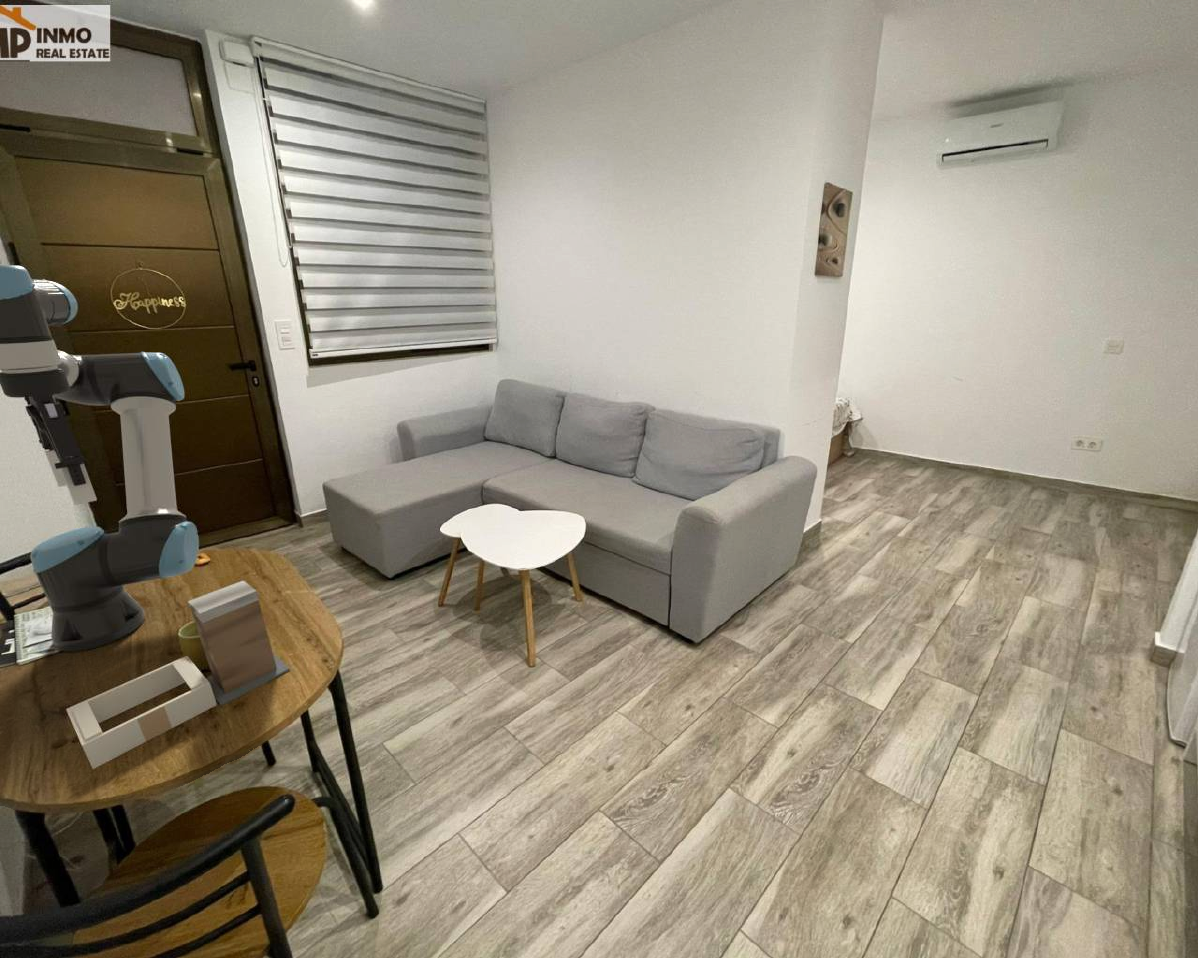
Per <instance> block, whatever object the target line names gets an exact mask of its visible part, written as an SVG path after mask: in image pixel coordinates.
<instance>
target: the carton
mask: <svg viewBox="0 0 1198 958" xmlns="http://www.w3.org/2000/svg"><path fill="white" fill-rule="evenodd" d="M206 678H207V677H205V676H204V674H203V673H202V672H201V671H199V669H198V668H197V667H196V666H195V665H194V663H193V662H192V661H191V660H190V659H189V657H188V656H185V657H184V656H183V657H180V658H177V659H176V660H173V661H172V662H170V663H168V664H165V665H163V666H161V667H159V668H156V669H154V670H152V671H150V672H147V673H144V674H143V675H140V676H139V677H136V678H134V679H131V680H128V681H127V682H124V683H123V684H120V685H118V686H116V687H113V688H111V689H109V690H106V691H104V692H102V693H100V694H98V695H95V696H93V697H91V698H88V699H86V700H84V701H81V702H79V703H77V704H74V705H72V706H70V707H68V708H66V709H65V710H66V712H67V714H68V717H69V719H70V721H71V723H72V726H73V728H74V730H75V732H76V735H77V738H78V740H79V743H80V744H81V747H82V748H83V751H84V753H85V755H86V757H87V760H88V762H89V764H90V766H91V769H92V770H94V769H96V768H98V767H100V766H102V765H104V764H106V763H107V762H109V761H111V760H114V759H115V758H117V757H119V756H121V755H123V754H125V753H127V752H129V751H131V750H133V749H134V748H137V747H139V746H140V745H142V744H145V743H146V742H148V741H151V740H152V739H155V738H156V737H158V736H160V735H162V734H163V733H166V732H167V731H169V730H171V729H174V728H176V727H177V726H179V725H181V724H182V723H185V722H187V721H189V720H190V719H193V718H194V717H197V716H198V715H200V714H202V713H205V712H206V711H208V710H211V708H214V707H216V706H218V704H217V703H218V702H217V700H216V699H215V697H214V694H213V691H212V688H211V685H210V683H209V682H208V680H207V679H206ZM183 684H186V685H187V686H188V687H189V689H190V690H189V691H187V692H184V693H183V694H180V695H178V696H177V697H174V698H172V699H170V700H168V701H166V702H164V703H162V704H159V705H157V706H156V707H154V708H151V709H150V710H147V711H146V712H143V713H141V714H139V715H138V716H135V717H133V718H131V719H129V720H127V721H124V722H122V723H120V724H119V725H117V726H115V727H112V728H110V729H108V730H106V731H105V732H103V731H102V728H101V726H100V725H99V724H100V723H102V722H105V721H106V720H108V719H111V718H113V717H116V716H117V715H119V714H121V713H123V712H125V711H128V710H130V709H132V708H134V707H136V706H138V705H140V704H142V703H144V702H148V701H149V700H151V699H153V698H155V697H157V696H160V695H162V694H164V693H167V692H168V691H171V690H173V689H175V688H176V687H178V686H179V687H180V686H181V685H183Z"/></svg>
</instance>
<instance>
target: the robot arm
mask: <svg viewBox="0 0 1198 958" xmlns="http://www.w3.org/2000/svg"><path fill="white" fill-rule="evenodd" d="M78 309H79V307H78V302H77V299H76V298H75V296H74V294H73V293H72V292H71V291H70V290H69V289H68V288H66V287H65V286H64V285H62V284H59V283H57V282H55V281H50V280H46V279H44V278H32V277H31V276H30V273H29V271H28V269H26V268H25V267H23V266H22V265H15V264H14V265H12V264H0V371H1V372H0V387H1V390H2V392H3V394H4V396H6V397H8V398H15V399H16V398H19V399H20V398H21V399H22V398H24V401H26V404H27V405H24V406H25V410H26V412H27V414H28V416H29V417H30V420H31V422H32V424H33V426H34V427H35V431H36V433H37V437H38V439H39V440H38V443H39V444H41V446H42V447H41V448H42V449H44V452H45V455H46V459H47V461H48V463H49V466H50V468H51V470H52V474H53V477H54V478H55V481H56V484H57V486H58V487H64V486H67V488H68V491H69V493H70V496H71V499H72V501H73V503H74V505H75V506H79V505H81V504H82V505H83V504H87V503H90V502H96V501H97V500H98V498H97V496H96V493H95V490H94V488H93V485H92V483H91V480H90V477H89V474H88V471H87V468H86V466H85V464H84V463H85V461H86V459H85V457H84V456H83V454H82V452H81V450H80V446H79V445H78V443H77V440H76V438H75V435H74V433H73V432H72V429H71V427H70V423H69V420H68V418H67V416H66V410H65V408H64V405H63V403H60V402H56V400H55V399H59V400H62V401H66V402H71V403H74V404H79V405H80V404H81V405H86V406H96V407H97V406H99V407H100V406H110V408H111V410H112V411H113V412H115V413H117V414H118V415H120V426H121V431H120V432H121V441H122V443H121V444H122V455H123V456H122V457H123V471H124V483H125V496H126V497H125V498H126V510H127V512H126V513H127V514H126V515H125V516H123V518H121V519H120V520H119V521H118V531H117V532H111V533H105V530H104V529H103V528H101V527H100V526H85V527H81V528H77V529H76V528H75V529H72V530H69V531H66V532H63V533H60V534H58V535H55V536H52V537H51V538H49V539H46V540H44V541H42V542H41V543H40V544H38V545H37V546H35V547H34V548H33V549H32V550H31V552H30V555H29V558H30V561H31V564H32V567H33V573H34V574H35V575H36V578H37V579H38V582H39V584H40V586H41V588H42V591H43V592H44V595H45V598H46V600H47V602H48V604H49V606H50V608H51V611H52V621H51V622H52V623H51V642H52V643H53V645H54V648H55V647H56V648H57V649H56V648H55V649H56V650H58V651H60V652H66V653H71V652H72V653H74V652H83V651H87V650H88V651H89V650H91V649H95V648H99V647H101V646H106V645H107V644H110V643H112V642H116V641H117V640H120V639H122V638H123V637H126V636H128V635H129V634H131V633H132V632H134V631H135V630H137V629H138V628H139V627H140V626H142V624H143V623H144V621H145V619H146V614H145V612H144V608H143V607H142V606H141V605H140V603H139V602H138V601H137V600H135V598H134V597H132V595H131V594H130V593H129V592H128V591H126V589H125V587H124V586H127V585H130V584H137V583H138V584H139V583H141V582H142V583H143V582H144V583H145V582H147V581H153V580H159V579H169V578H171V577H175V576H176V577H177V576H180V575H184V574H186V573H188V572H190V571H191V570H192V569H193V568H194V567H195V564H196V562H197V561H198V557H199V549H200V541H199V540H200V538H199V535H198V529H197V526H196V525H195V524H194V523H193V522H192V521H188V520H187V516H186V515H185V514H183V513H182V512H181V511H178V506H177V497H176V495H177V493H176V486H175V485H176V483H175V473H174V463H173V452H172V442H171V428H170V418H169V416H170V415H171V414H172V413H174V412H175V411H177V410H176V409H177V408H176V407H177V406H176V401H177V402H180V401H182V400H184V399H185V387H184V384H183V382H182V378H181V376H180V374H179V373H180V372H178V369H177V367H176V365H175V363H174V362H173V361H172V360H171V358H170V357H169V356H168V355H166V354H165V353H162V352H145V351H141V352H134V353H133V352H132V353H130V352H129V353H108V354H107V353H106V354H105V353H103V354H68V353H66V352H65V351H62V350H59V349H57V345H56V343H55V340H54V339H53V337H52V334H51V331H50V328H49V327H51V326H53V327H59V326H61V325H64V324H66V323H69V322H70V321H72V320H73V319H74V318H75V317H76V316H77V313H78Z"/></svg>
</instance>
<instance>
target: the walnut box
mask: <svg viewBox="0 0 1198 958" xmlns="http://www.w3.org/2000/svg"><path fill="white" fill-rule="evenodd" d="M259 600H260V599H259V596H258V591H257V590H256V589H255V588H253V587H252V586H251V585H250V584H248V583H247V582H246V581H245V580H241V581H238V582H235V583H232V584H231V585H228V586H225V587H222V588H220V589H217V590H214V591H212V592H209V593H206V594H203V595H201V596H199V597H196V598H193V599H191V600H187V603H188V606H189V609H190V612H191V615H192V617H193V621H195V624H196V627H197V630H198V633H199V636H200V639H201V642H202V645H203V648H204V651H205V654H206V658H207V661H208V664H209V667H210V669H209V670H210V673H211V676H213V679H214V681H215V682H216V683H217V685H218V686H219V687H220V688H221V689H222V691H223V692H224V693H225V694H227V693H229V692H231V691H233V690H235V689H237V688H239V687H241V686H243V685H245V684H247V683H249V682H251V681H253V680H255V679H257V678H259V677H261V676H262V675H264V674H266V673H268V672H270V671H272V670H274V669H276V668H277V667H276V663H275V660H274V656H273V653H274V652H273V649H272V645H271V641H270V638H269V634H268V631H267V627H266V623H265V619H264V615H263V612H262V608H261V604H260V601H259Z"/></svg>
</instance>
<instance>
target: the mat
mask: <svg viewBox="0 0 1198 958" xmlns="http://www.w3.org/2000/svg"><path fill="white" fill-rule="evenodd" d="M273 656H274V660H275V663H276V667H277V668H276V669H274V670H272V671H270V672H268V673H266V674H264V675H262V676H261V677H259V678H257V679H255V680H253V681H251V682H249V683H247V684H245V685H243V686H241V687H239V688H237V689H235V690H233V691H231V692H229V693H227V694H225V693H224V692H223V691H222V689H221V688H220V687H219V686H218V685H217V683H216V682H215V681H214V679H213V676H212V675H210V676H208V677H205V678H206V679H207V680H208V682H209V683H210V685H211V688H212V691H213V694H214V697H215V700H216V702H217V703H218V704H219V705H220V706H223V705H225V704H228V703H229V702H231V701H234V700H235V699H237V698H240V697H241V696H244V695H245V694H247V693H249V692H251V691H252V690H254V689H256V688H258V687H260V686H262V685H265V684H266V683H268V682H271V680H273V679H276V678H277V677H279V676H281V675H283V674H285V673H286V672H287V673H288V672H290V671H291V670H290V667H289V666H287V664H286V663H285V662H283V661H282V660H281V659H280V658H279V657H278V656H277V655H276V654H275V653H274V652H273Z"/></svg>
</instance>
